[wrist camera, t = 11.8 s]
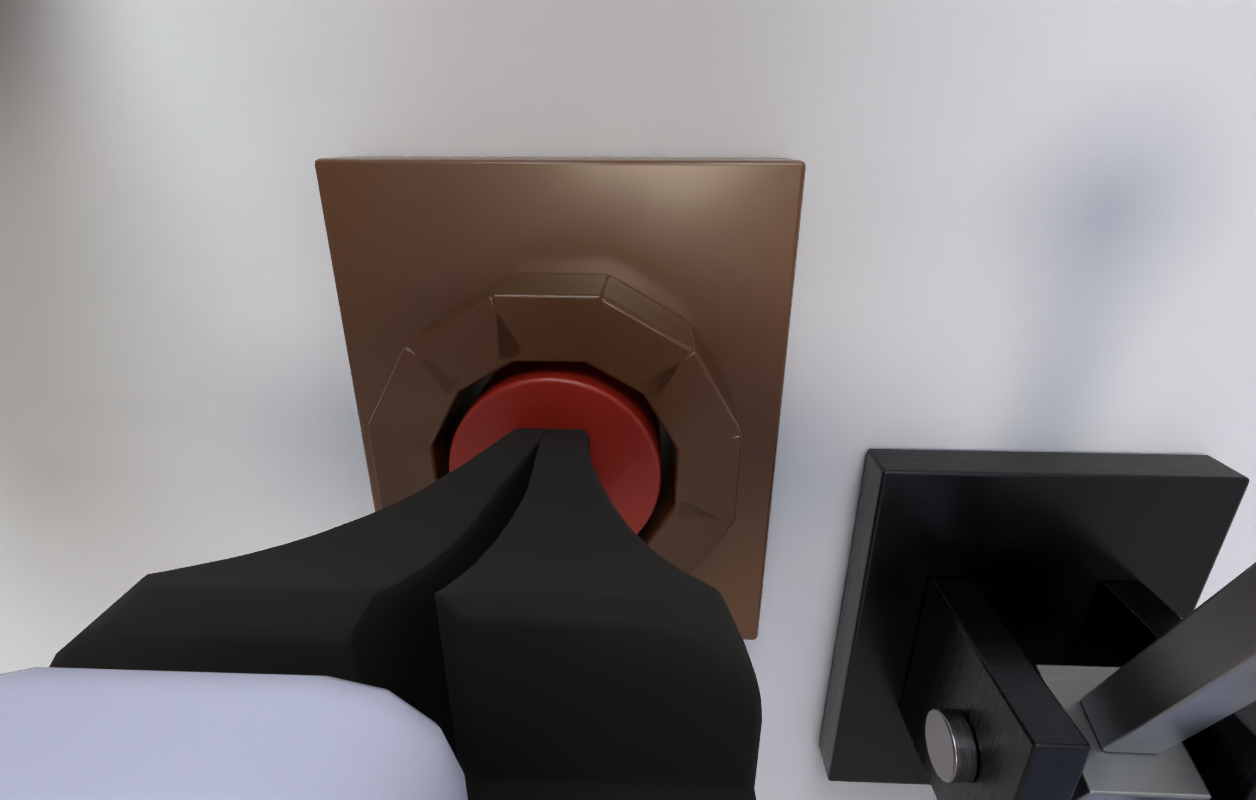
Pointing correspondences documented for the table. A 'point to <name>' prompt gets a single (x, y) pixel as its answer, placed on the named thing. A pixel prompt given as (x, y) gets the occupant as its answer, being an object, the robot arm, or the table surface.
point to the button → (573, 426)
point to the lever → (1162, 700)
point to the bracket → (1016, 613)
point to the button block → (579, 318)
